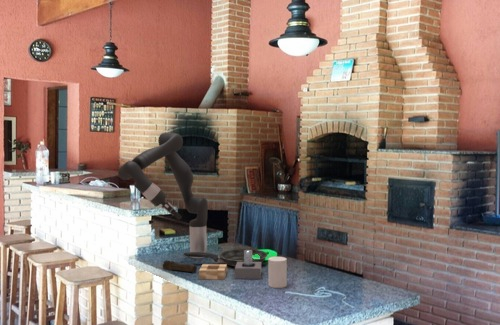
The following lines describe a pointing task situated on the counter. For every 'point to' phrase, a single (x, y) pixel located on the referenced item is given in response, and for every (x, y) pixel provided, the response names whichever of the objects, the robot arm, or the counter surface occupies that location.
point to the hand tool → (179, 266)
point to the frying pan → (230, 256)
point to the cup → (277, 272)
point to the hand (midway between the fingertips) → (179, 217)
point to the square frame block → (213, 271)
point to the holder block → (248, 271)
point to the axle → (247, 258)
